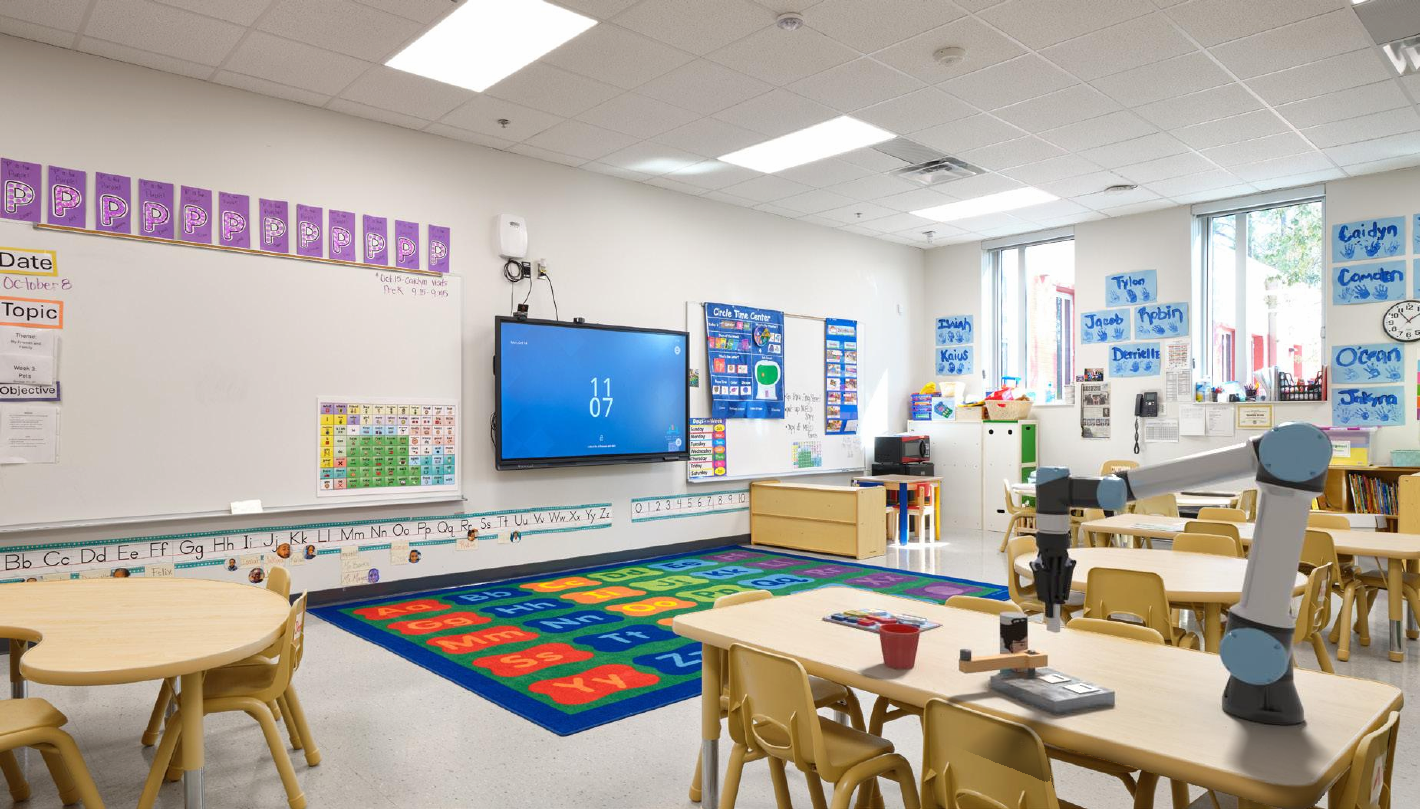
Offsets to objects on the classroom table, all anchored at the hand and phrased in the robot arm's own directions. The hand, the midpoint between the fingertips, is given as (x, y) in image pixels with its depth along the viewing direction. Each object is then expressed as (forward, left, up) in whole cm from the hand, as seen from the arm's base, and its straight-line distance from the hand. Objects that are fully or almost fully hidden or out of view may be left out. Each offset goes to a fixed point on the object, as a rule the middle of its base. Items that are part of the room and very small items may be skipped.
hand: (1053, 630), depth 199 cm
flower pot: (+33, +20, -15) cm, 41 cm away
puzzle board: (+74, -3, -15) cm, 76 cm away
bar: (+8, +9, -10) cm, 15 cm away
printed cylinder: (+15, -2, -15) cm, 21 cm away
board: (-2, +3, -14) cm, 15 cm away
